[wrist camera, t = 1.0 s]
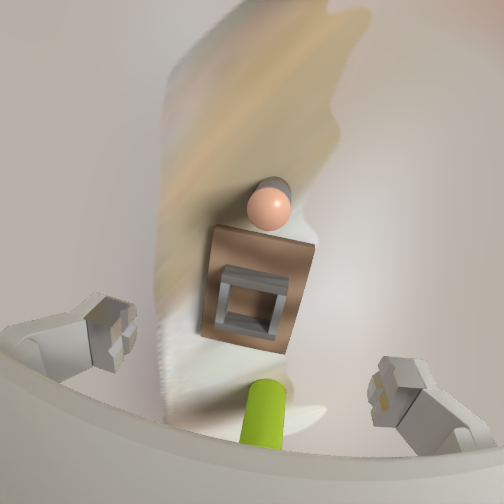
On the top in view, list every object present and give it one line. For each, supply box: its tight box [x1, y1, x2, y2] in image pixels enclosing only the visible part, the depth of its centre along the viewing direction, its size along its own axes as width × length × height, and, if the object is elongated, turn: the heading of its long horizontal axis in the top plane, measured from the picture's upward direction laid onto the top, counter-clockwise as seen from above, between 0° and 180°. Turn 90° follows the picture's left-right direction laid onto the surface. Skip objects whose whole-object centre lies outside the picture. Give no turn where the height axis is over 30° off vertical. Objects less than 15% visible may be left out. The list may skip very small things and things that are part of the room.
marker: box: [247, 177, 291, 231], centre depth 33 cm, size 4×4×8 cm
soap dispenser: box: [239, 379, 286, 450], centre depth 39 cm, size 6×7×20 cm
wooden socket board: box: [201, 224, 315, 355], centre depth 39 cm, size 16×12×4 cm
